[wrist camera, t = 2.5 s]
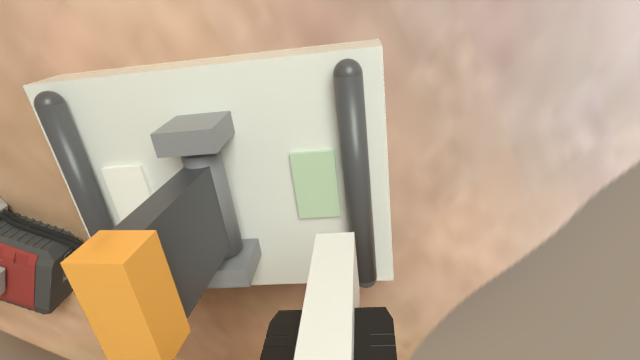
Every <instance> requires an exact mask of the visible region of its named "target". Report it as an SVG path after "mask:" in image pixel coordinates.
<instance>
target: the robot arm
mask: <svg viewBox="0 0 640 360" xmlns="http://www.w3.org/2000/svg"><path fill="white" fill-rule="evenodd" d="M260 360H397V354H396V344H395V334H394V324H393V318H392V317H391V315H390V314H389V312H388V310H387V309H386V307H367V308H359V277H358V267H357V256H356V246H355V235H354V232H344V233H324V234H316V237H315V243H314V248H313V254H312V259H311V265H310V271H309V276H308V282H307V288H306V293H305V299H304V304H303V310H284V311H278V313H277V314H276V315H275V316H274V318H273V319H272V320H271V322H270V324H269V327H268V331H267V335H266V338H265V342H264V346H263V350H262V353H261V357H260Z"/></svg>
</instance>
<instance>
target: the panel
mask: <svg viewBox="0 0 640 360" xmlns="http://www.w3.org/2000/svg"><path fill="white" fill-rule="evenodd" d="M23 87H24V89H25V92H26V94H27V96H28V99H29V101H30V103H31V105H32V108H33V110H34V112H35V115H36V117H37V119H38V121H39V124H40V126H41V128H42V131H43V133H44V135H45V137H46V140H47V142H48V144H49V147H50V149H51V151H52V154H53V156H54V158H55V160H56V163H57V165H58V167H59V170H60V172H61V174H62V176H63V179H64V181H65V183H66V186H67V188H68V190H69V193H70V195H71V197H72V199H73V202H74V204H75V206H76V209H77V211H78V213H79V215H80V218H81V220H82V222H83V225H84V227H85V229H86V231H87V234H88V236H89V238H91V237H92V236H93V235H95V234H96V233H97V232H98V231H99V230H112V229H113V228H114V227H115V226H117V225H118V224H119V223H120V222H121V221H122V220H123V219H125V218H126V217H127V216H128V215H129V214H130V213H131V212H133V211H134V210H135V209H136V208H137V207H138V206H140V205H141V204H142V203H143V202H144V201H145V200H146V199H148V198H149V197H150V196H151V195H152V194H153V193H155V192H156V191H157V190H158V189H159V188H160V187H161V186H163V185H164V184H165V183H166V182H167V181H168V180H170V179H171V178H172V177H173V176H174V175H175V174H176V173H178V172H179V171H180V170H181V169H182V168H183V164H182V160H181V157H180V156H191V155H204V154H216V153H218V152H219V151H220V150H221V154H222V158H223V162H224V166H225V171H226V175H227V179H228V183H229V187H230V191H231V196H232V200H233V204H234V208H235V212H236V216H237V221H238V225H239V229H240V233H241V237H242V241H243V248H242V250H241V251H240V252H239V253H237V254H236V255H234V256H232V257H229V258H225V259H224V260H223V262H222V264H221V265H220V267H219V268H218V270H217V272H216V273H215V275H214V276H213V278H212V280H211V281H210V283H209V284H208V286H207V288H233V287H250V286H251V285H270V284H299V283H307V282H308V276H309V271H310V265H311V259H312V254H313V248H314V243H315V237H316V234H324V233H344V232H354V235H355V246H356V256H357V267H358V277H359V286H360V287H363V288H368V287H371V286H372V285H374V283H375V282H376V281H385V280H394V278H393V257H392V236H391V216H390V195H389V174H388V153H387V133H386V112H385V91H384V70H383V50H382V44H381V41H380V39H370V40H361V41H352V42H343V43H334V44H325V45H317V46H308V47H299V48H290V49H281V50H272V51H263V52H254V53H246V54H237V55H228V56H219V57H210V58H201V59H192V60H183V61H175V62H166V63H157V64H148V65H139V66H130V67H121V68H112V69H104V70H95V71H86V72H77V73H68V74H60V75H57V76H53V77H50V78H47V79H43V80H40V81H36V82H33V83H30V84H26V85H23Z"/></svg>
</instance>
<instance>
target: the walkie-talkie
mask: <svg viewBox="0 0 640 360" xmlns="http://www.w3.org/2000/svg"><path fill="white" fill-rule="evenodd" d="M83 244H84V243H83V242H82V241H80V240H78V239H77V238H75V237H74V236H73V235H72V233H71V232H70V231H68V232H67V231H64V229H59V228H57V227H56V226H54V227H53V226H50V225H49V224H44V223H42V222H41V221H39V222H38V221H35V219H29V218H27V217H26V216H24V217H23V216H21V215H20V214H18V213H17V214H15V213H13V212H12V211H8V205H7V203H6V202H5V201H4V200H3V199H2V198H1V197H0V300H1V301H5V302H7V303H11V304H14V305H17V306H20V307H23V308H27V309H29V310H33V311H35V312H39V313H42V314H50V313H52V312H53V311H54V310H55V309H56V308H57V307H58V305H59V304H60V303H61V302H62V301H63V300H64V299H65V298H66V297H67V296H68V295H69V294H70V293H71V292H72V291H73V289H72V287H71V285H70V282H69V280H68V278H67V276H66V274H65V272H64V270H63V268H62V266H61V264H60V263H61V262H62V261H63V260H65V259H66V258H67V257H68V256H69V255H71V254H72V253H73V252H74V251H75V250H77V249H78V248H79V247H80V246H81V245H83Z"/></svg>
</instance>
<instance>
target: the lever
mask: <svg viewBox="0 0 640 360" xmlns="http://www.w3.org/2000/svg"><path fill="white" fill-rule="evenodd" d="M180 157H181V160H182V164H183V168H182V169H181V170H180V171H179V172H178V173H176V174H175V175H174V176H173V177H172V178H171V179H170V180H168V181H167V182H166V183H165V184H164V185H163V186H161V187H160V188H159V189H158V190H157V191H156V192H155V193H153V194H152V195H151V196H150V197H149V198H148V199H146V200H145V201H144V202H143V203H142V204H141V205H140V206H138V207H137V208H136V209H135V210H134V211H133V212H131V213H130V214H129V215H128V216H127V217H126V218H125V219H123V220H122V221H121V222H120V223H119V224H118V225H117V226H115V227H114V228H113V229H112V230H99V231H98V232H97V233H96V234H95V235H93V236H92V237H91V238H90V239H89V240H87V241H86V242H85V243H84V244H83V245H81V246H80V247H79V248H78V249H77V250H75V251H74V252H73V253H72V254H71V255H69V256H68V257H67V258H66V259H65V260H63V261H62V262H61V263H60V264H61V266H62V268H63V270H64V272H65V274H66V276H67V278H68V280H69V282H70V285H71V287H72V289H73V291H74V293H75V295H76V297H77V299H78V301H79V303H80V305H81V307H82V309H83V311H84V313H85V315H86V317H87V319H88V321H89V323H90V325H91V327H92V329H93V331H94V334H95V336H96V338H97V340H98V342H99V344H100V346H101V348H102V350H103V352H104V354H105V356H106V358H107V360H174V358H175V356H176V355H177V353H178V351H179V350H180V348H181V346H182V345H183V343H184V341H185V339H186V338H187V336H188V334H189V333H190V331H191V329H190V326H189V324H188V321H187V318H188V316H189V315H190V313H191V312H192V310H193V308H194V307H195V305H196V304H197V302H198V300H199V299H200V297H201V296H202V294H203V292H204V291H205V289H206V288H207V286H208V284H209V283H210V281H211V280H212V278H213V276H214V275H215V273H216V272H217V270H218V268H219V267H220V265H221V264H222V262H223V260H224V259H225V258H229V257H232V256H234V255H236V254H237V253H239V252H240V251H241V250H242V248H243V241H242V237H241V233H240V229H239V225H238V221H237V216H236V212H235V208H234V204H233V200H232V196H231V191H230V187H229V183H228V179H227V175H226V171H225V166H224V162H223V158H222V154H221V150H220V151H219V152H218V153H216V154H204V155H191V156H180Z"/></svg>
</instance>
